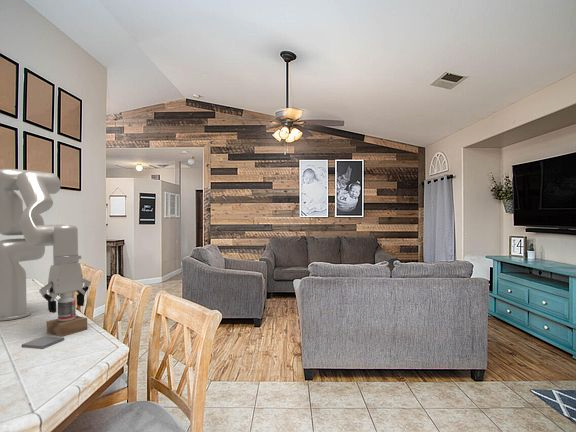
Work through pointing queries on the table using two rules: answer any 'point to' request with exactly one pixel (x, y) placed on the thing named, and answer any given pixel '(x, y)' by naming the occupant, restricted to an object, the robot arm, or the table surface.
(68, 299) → the pill bottle
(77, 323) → the walnut block
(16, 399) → the table surface
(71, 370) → the table surface
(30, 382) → the table surface
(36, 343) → the slate coaster
